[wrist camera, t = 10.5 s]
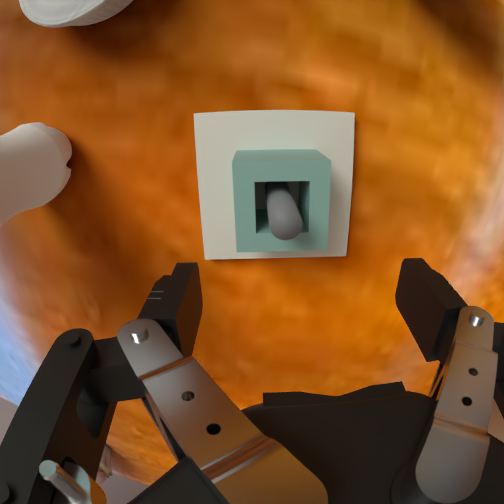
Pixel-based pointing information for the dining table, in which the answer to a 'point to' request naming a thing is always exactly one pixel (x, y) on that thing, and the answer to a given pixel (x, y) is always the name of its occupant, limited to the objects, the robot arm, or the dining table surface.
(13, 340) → the dining table surface
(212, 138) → the post stand
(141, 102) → the dining table surface
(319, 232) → the collar
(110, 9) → the ramekin
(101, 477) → the cupcake
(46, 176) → the water bottle
